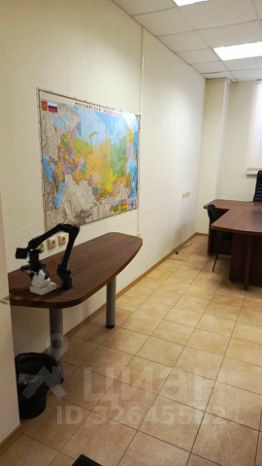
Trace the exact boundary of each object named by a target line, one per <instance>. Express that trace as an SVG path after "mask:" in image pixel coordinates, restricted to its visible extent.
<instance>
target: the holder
mask: <svg viewBox="0 0 262 466" xmlns="http://www.w3.org/2000/svg"><path fill="white" fill-rule="evenodd" d="M55 289H57V282H53V281H50V284H49V286H48V287H46V288H43V289H39V288H36V287H33V285H32V286H29V292H31V293H33V294H38V295H40V296H43V295H45V294H47V293H50V292H52V291H54V290H55Z"/></svg>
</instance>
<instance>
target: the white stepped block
mask: <svg viewBox="0 0 262 466" xmlns="http://www.w3.org/2000/svg"><path fill="white" fill-rule="evenodd" d="M39 270H40V269H39ZM50 274H51V273H50V271H49V270H48V269H47V268H46V269H45V268H42V269H41V270H40V271H39V274H38V276H37V275H35V276H34V278H33V281H31V284H30V285H32V286H33V287H36V288H39V289H43V288H46V287H48V286H49V284H50V282H52V280H51V279H50Z"/></svg>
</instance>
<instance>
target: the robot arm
mask: <svg viewBox="0 0 262 466" xmlns="http://www.w3.org/2000/svg"><path fill="white" fill-rule="evenodd" d="M80 231H81V227H80V225H79V224H77V223H74V224H70V223H63V222H59V223H58V224H56V225H54V226H53V227H52V228H50V229H48V230H47V231H46V232H44V233H42V234H40V235H37V236H35V237H33V238H31V239H30V240H29V241H28V242H27V246H26V247H16V250H15V254H14V258H15V260H27V259H28V261H27V264H23V265H21V266H20V268H19V271H20V272H23V273H24V272H25V270H26V271H27V273H26V275H27V276H28V278H29V279H30V281H31V282H32V281H33V278H34V276H35V275H37V276H38V274H39V271H40V270H41V269H46V270H47V267H48V263H45V262H43V261H41V260H40V254H42V253H43V252H44V250H43V249H41V248H40V245H42V244H43V243H44V242H45V241H47V240H48V239H50V238H51V237H53V236H54V235H56V234H57V233H59V232H62V233H66V234H68V240H67V243H66V247H65V249H64V250H65V251H64V255H63V257H62V259H61V260H62V261H59V262H58V264H57V268H56V270H55V271H56V275H57V276H58V277H59V278H60V281H59V282H60V283H59V284H60V286H59V287H58V288H59V289H61V290H64V291H69V290H70V289H71V290H72V289H73V288H74V285H73V278H72V277H71V276H72V274H73V272H72V271H71V270H70V269H69V267H70V264H69V263H70V258H71V255H72V252H73V248H74V244H75V243H76V242H75V241H76V239H77V237H78V235H79V234H80ZM38 247H39V248H38ZM37 248H38V249H37Z"/></svg>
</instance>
